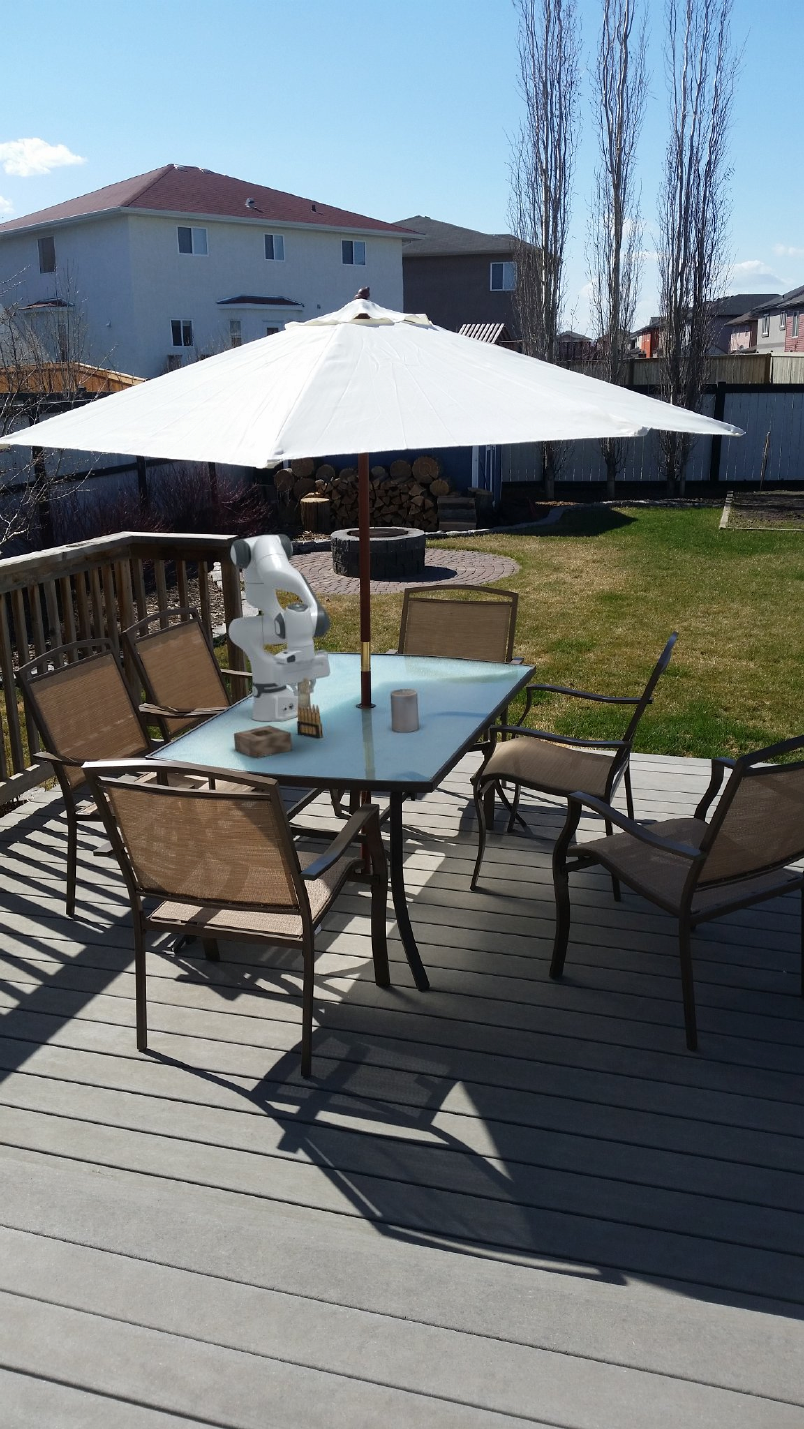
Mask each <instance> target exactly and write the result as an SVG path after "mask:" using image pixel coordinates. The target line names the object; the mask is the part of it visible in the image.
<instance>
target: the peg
mask: <svg viewBox="0 0 804 1429" xmlns="http://www.w3.org/2000/svg"><path fill="white" fill-rule="evenodd" d="M309 686H310V682H309V680H308V678H303V682H299V683H297V686H296V689H297V690H300V696H298V703H299V707H300V708H307V707H308V708H309V707H310V706H311V707H312V704H311V693H310V687H309Z"/></svg>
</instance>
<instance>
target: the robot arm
mask: <svg viewBox="0 0 804 1429" xmlns="http://www.w3.org/2000/svg"><path fill="white" fill-rule="evenodd" d="M292 544H293V543H292V542H291V539H290V538H289V536H287V535H286V534H279V533H277V534H263V535H257V536H252V537H247V538H240V539H237V540H234V541H233V543H232V544H231V549H230V558H231V560H232V562H233V564H234V566H235V567H237V568H238V569H243V580H244V581H243V582H244V584H243V585H244V593H245V600H246V602H247V604H249V605H250V606H251V607H253V608H255V609H257V610H260V611H261V612H262V613H263V614H262V615H251V616H249V615H248V616H242V617H238V618H234V619H233V620H232V621H231V622H230V624H229V628H228V635H229V638H230V640H231V642H232V643H233V644H234V645H236V646H237V647H239V648H240V649H241V650H242V651H243V652H244V653H245V655H246V656H247V658H248V660H249V662H250V668H251V676H252V681H251V688H252V689H251V691H252V697H253V701H252V702H253V704H252V705H253V706H252V713H251V719H252V720H254V721H259V722H272V721H273V722H276V721H277V722H283V721H287V720H290V719H294V718H297V717H298V715H297V714H298V696H300V690H298V689H297V683H299V682H303V678H308V680H309V687H310V694H313V693H315V690H314V688H315V686H316V684H317V679H322V678H327V677H329V676H330V675H331V667H330V661H329V652H328V651H327V650H325V649H324V648H323V649H318V650H316V649H315V643H314V640H313V639H314V638H323V637H324V636H325V635H326V634H327V633H328V632H329V631H330V629H331V619H330V616H329V614H328V612H327V611H326V609H325V608H324V607H323V605H322V604H321V602H320V600H319V599H318V598H317V596H316V594H315V592H314V590H313V588H312V586H311V584H310V583H309V581H308V580H307V578H306V576H305V575H304V574H303V573H302V572H301V571H299V570H297V569H296V568H294V567H293V565H292V564H291V563H290V561H291V559H292V557H293V551H294V550H293V545H292ZM276 590H279V591H285V592H289V593H293V594H294V595H296V596H298V597H299V598H300V600H301V602H302V603H301V602H294V603H293V602H292V603H290V604H288V605H287V606H286V607H285V609H283V608H282V606H281V604H280V602H279V600H278V597H277V592H276ZM283 644H286V648H285V649H283V650H281V651H280V652H278V653H276V654H274V653H271V652H269V651H266V650H265V648H264V646H265V645H267V646H268V645H270V646H271V645H283ZM287 686H289V687H290V688H291V689H292V690H291V689H289V688H288V687H287ZM308 712H309V711H308ZM296 716H297V717H296Z"/></svg>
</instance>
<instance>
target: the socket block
mask: <svg viewBox="0 0 804 1429" xmlns="http://www.w3.org/2000/svg"><path fill="white" fill-rule="evenodd" d="M291 736H292V734H291V732H288V731H286V730H283V729H281V728H277V727H274V726H272V725H269V724H268V725H265V726H261V727H256V728H251V729H247V730H243V731H239V732H235V733H233V738H234V739H233V740H234V741H233V742H234V748H235V749H234V750H235V751H236V752H238V751H239V753H241V754H243V753H244V755H246V756H248V755H249V757H250V758H253V759H255V758H257V759H260V758H259V757H261V758H263V757H262V756H265V755H269V756H271V755H270V754H273V755H276V754H275V753H277V754H280V753H285V752H289V751H292V750H293V749H292V738H291ZM265 757H266V756H265Z"/></svg>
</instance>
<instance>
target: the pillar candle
mask: <svg viewBox="0 0 804 1429" xmlns="http://www.w3.org/2000/svg"><path fill="white" fill-rule="evenodd" d="M418 702H419V701H418V691H417V690H415V689H412V688H402V689H401V688H400V689H395V690H392V691H390V711H391V712H390V713H391V729H392V731H393V732H395V733H400V734H401V733H402V734H404V733H405V734H406V733H412V732H416V731H418V730H419V729H420V725H419V724H420V722H419V720H420V718H419V703H418Z"/></svg>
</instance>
